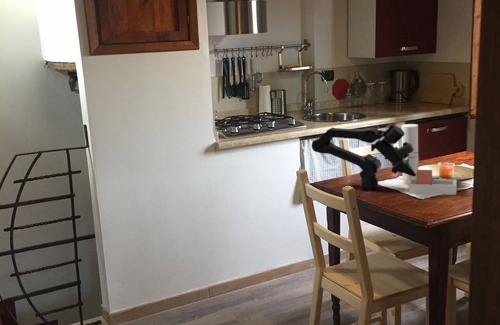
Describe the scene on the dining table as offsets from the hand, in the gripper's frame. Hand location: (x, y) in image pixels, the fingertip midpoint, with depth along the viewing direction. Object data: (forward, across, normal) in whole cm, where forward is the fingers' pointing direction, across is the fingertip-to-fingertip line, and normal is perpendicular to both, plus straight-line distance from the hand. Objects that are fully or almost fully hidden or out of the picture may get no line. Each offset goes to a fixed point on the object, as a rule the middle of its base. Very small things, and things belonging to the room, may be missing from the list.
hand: (415, 175), depth 223 cm
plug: (+7, 0, +2) cm, 8 cm away
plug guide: (+9, 0, 0) cm, 9 cm away
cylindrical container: (+2, +19, +8) cm, 21 cm away
